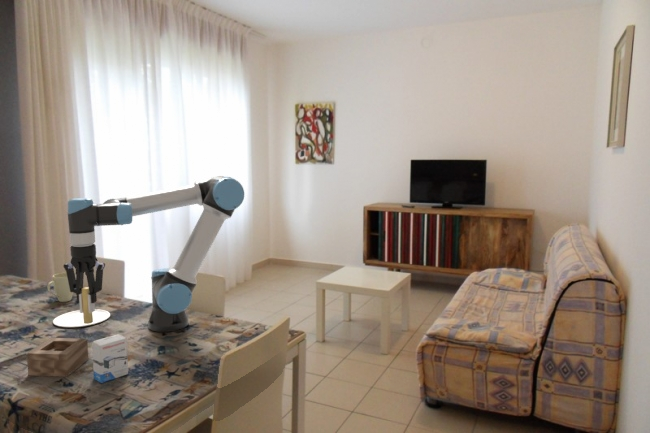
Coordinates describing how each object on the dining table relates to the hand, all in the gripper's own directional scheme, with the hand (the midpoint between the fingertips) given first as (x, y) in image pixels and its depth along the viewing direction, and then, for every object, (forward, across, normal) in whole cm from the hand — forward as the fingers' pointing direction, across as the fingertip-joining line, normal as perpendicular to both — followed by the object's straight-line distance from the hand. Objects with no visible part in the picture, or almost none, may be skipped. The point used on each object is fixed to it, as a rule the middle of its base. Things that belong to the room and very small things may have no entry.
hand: (87, 311), depth 155 cm
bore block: (+13, +3, +13) cm, 19 cm away
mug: (+14, +40, -51) cm, 66 cm away
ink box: (+14, -16, +18) cm, 28 cm away
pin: (+4, 0, 0) cm, 4 cm away
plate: (+14, +19, -29) cm, 37 cm away
